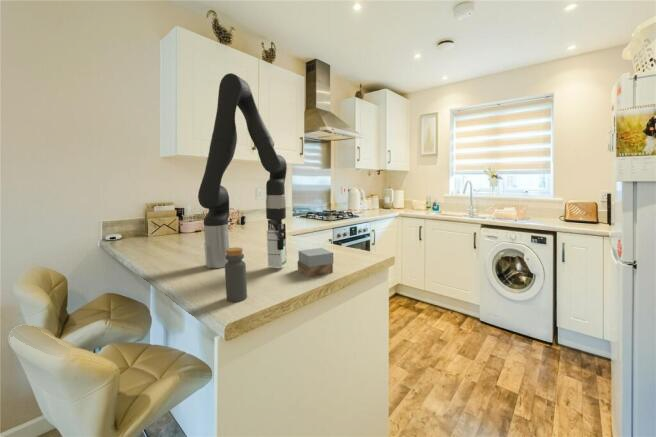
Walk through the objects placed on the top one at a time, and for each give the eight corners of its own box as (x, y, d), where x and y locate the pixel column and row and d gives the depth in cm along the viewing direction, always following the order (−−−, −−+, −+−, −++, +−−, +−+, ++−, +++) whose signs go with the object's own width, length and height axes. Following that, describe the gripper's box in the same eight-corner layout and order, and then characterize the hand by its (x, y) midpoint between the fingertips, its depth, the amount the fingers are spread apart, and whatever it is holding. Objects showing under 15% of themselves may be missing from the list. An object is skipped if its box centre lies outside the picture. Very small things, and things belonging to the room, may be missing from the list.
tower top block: (308, 267, 108) (308, 256, 107) (298, 260, 116) (298, 250, 116) (333, 263, 112) (333, 252, 112) (321, 257, 121) (321, 247, 120)
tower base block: (308, 278, 108) (308, 267, 107) (297, 271, 117) (297, 261, 116) (332, 273, 113) (332, 263, 112) (320, 267, 121) (320, 257, 121)
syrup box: (281, 267, 115) (281, 230, 114) (267, 266, 117) (266, 230, 115) (286, 263, 121) (286, 228, 119) (272, 262, 122) (272, 227, 120)
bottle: (233, 303, 85) (230, 252, 83) (222, 298, 89) (219, 249, 87) (251, 297, 89) (248, 248, 87) (240, 293, 93) (237, 246, 91)
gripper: (261, 205, 120) (262, 245, 122) (272, 208, 108) (273, 252, 110) (278, 205, 124) (279, 243, 126) (291, 207, 111) (292, 250, 114)
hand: (276, 247), depth 118 cm, fingers closed on syrup box, 8 cm apart
